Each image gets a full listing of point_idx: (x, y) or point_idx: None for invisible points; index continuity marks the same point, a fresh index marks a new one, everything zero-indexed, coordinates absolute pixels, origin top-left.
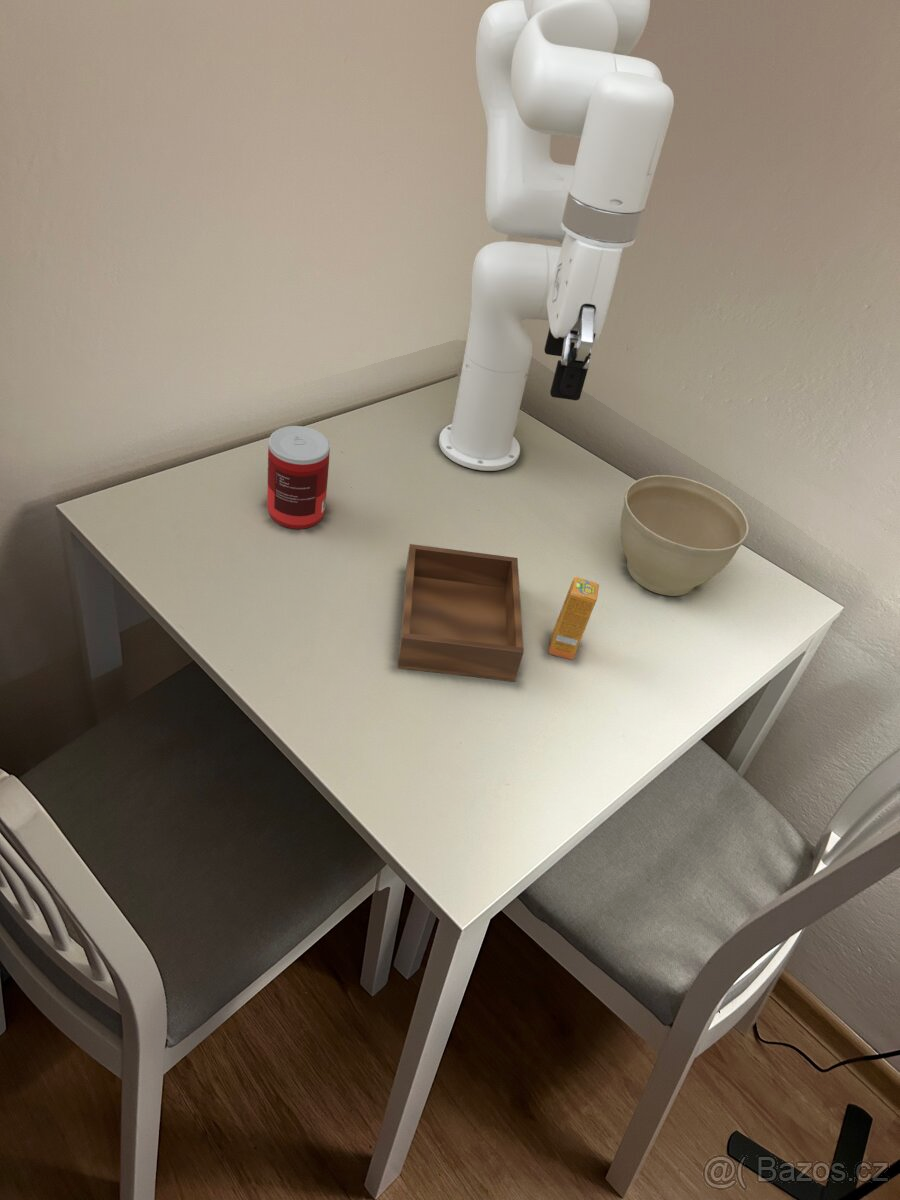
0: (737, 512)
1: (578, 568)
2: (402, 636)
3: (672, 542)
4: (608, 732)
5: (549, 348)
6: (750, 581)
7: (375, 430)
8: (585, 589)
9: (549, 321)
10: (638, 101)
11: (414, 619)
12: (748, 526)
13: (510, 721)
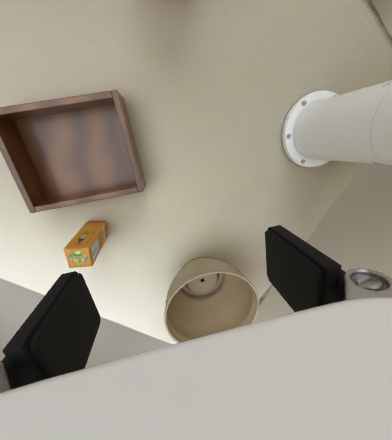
0: None
1: (186, 228)
2: None
3: (165, 310)
4: (37, 264)
5: (272, 240)
6: None
7: (323, 19)
8: (76, 258)
9: (134, 361)
10: None
11: (67, 118)
12: None
13: (7, 207)
